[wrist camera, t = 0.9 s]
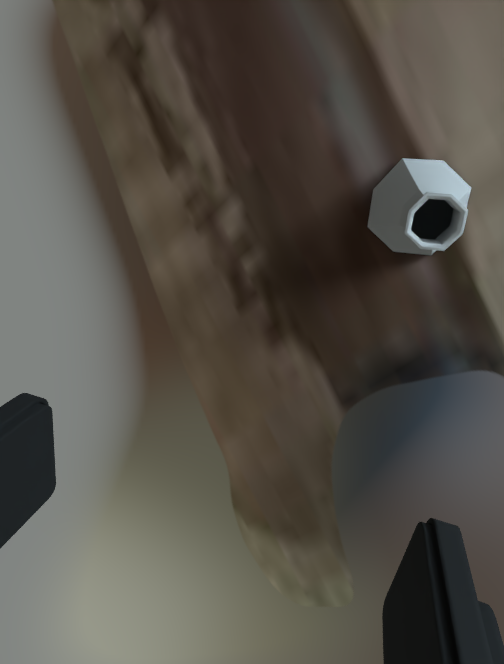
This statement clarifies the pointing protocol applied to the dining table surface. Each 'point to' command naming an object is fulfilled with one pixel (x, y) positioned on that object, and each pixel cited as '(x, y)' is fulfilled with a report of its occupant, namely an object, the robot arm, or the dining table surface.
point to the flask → (419, 207)
